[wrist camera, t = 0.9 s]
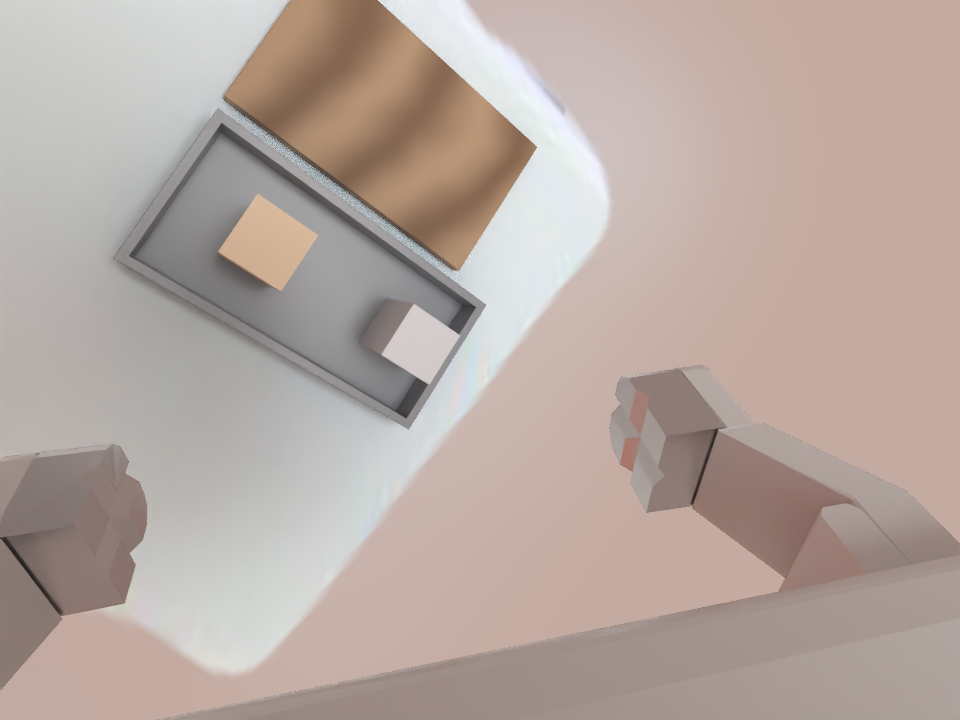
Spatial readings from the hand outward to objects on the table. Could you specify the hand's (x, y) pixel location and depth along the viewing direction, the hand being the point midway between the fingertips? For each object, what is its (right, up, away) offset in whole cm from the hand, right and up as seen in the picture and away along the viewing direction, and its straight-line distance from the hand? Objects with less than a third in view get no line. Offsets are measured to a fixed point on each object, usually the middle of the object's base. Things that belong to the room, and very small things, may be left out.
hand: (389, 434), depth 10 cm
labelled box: (-14, +9, +32) cm, 36 cm away
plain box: (-5, +3, +37) cm, 37 cm away
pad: (-5, +19, +35) cm, 40 cm away
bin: (-11, +7, +34) cm, 37 cm away
